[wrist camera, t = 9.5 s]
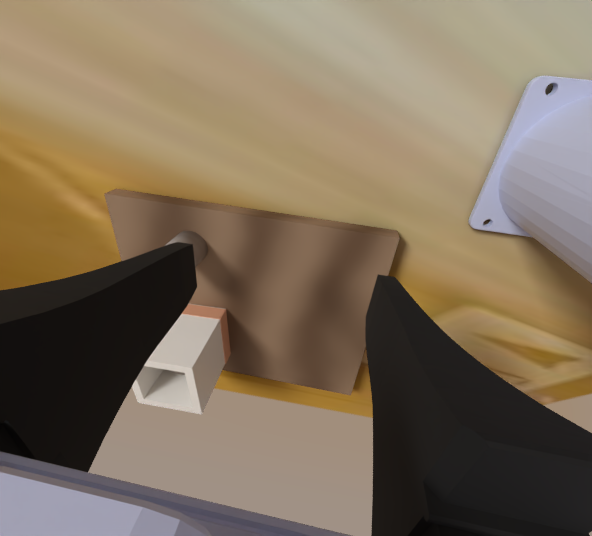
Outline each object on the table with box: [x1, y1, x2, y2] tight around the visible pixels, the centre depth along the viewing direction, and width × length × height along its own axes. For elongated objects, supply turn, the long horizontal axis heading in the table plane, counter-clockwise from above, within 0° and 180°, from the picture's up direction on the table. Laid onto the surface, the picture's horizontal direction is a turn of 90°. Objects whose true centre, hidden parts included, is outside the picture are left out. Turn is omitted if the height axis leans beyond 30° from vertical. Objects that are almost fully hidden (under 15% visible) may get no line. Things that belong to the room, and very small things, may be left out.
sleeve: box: [132, 304, 231, 414], centre depth 23 cm, size 5×5×6 cm
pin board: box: [105, 189, 400, 395], centre depth 22 cm, size 20×16×5 cm
